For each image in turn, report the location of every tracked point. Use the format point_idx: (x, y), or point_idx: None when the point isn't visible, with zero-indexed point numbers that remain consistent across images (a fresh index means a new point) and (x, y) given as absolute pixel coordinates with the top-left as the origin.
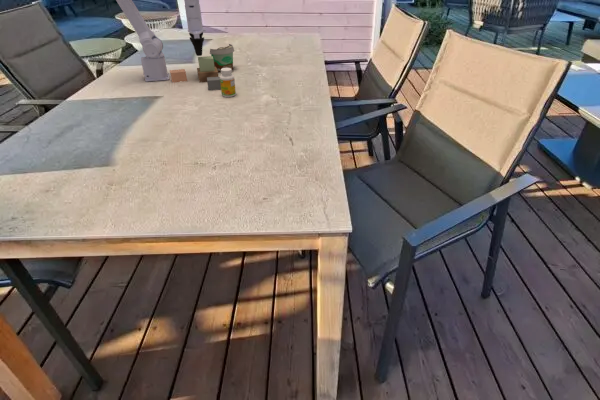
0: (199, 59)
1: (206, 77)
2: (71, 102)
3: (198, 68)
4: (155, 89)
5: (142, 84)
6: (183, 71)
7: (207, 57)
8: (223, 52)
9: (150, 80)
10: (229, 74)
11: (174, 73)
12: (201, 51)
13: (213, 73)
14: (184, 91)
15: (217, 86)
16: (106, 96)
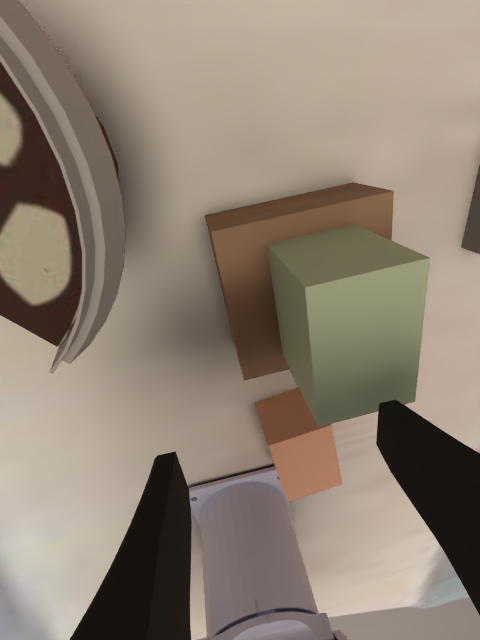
0: (413, 394)
1: None
2: (433, 597)
3: (256, 367)
4: None
5: (321, 525)
6: (325, 436)
7: (360, 335)
8: (83, 121)
9: (291, 520)
10: None
11: (337, 467)
12: (437, 433)
13: (386, 232)
14: (476, 360)
15: None
16: (417, 560)
